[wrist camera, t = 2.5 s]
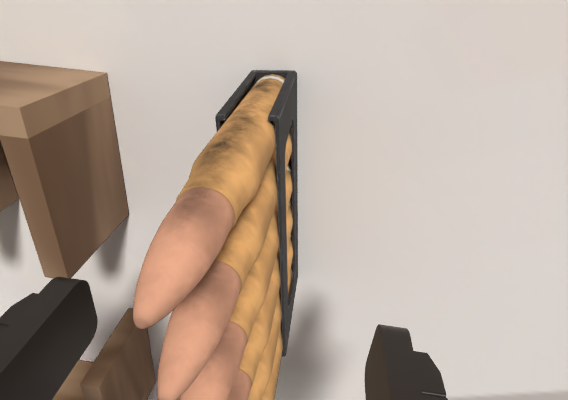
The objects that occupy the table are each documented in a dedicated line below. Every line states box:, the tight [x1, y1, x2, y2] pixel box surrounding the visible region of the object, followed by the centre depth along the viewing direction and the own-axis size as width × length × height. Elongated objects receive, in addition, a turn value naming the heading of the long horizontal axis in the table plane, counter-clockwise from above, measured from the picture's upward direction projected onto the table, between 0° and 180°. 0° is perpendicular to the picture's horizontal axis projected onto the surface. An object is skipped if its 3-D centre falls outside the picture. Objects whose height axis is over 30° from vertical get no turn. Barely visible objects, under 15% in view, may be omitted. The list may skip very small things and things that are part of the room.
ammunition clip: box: [133, 70, 298, 400], centre depth 12 cm, size 11×2×12 cm, turn 1°
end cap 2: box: [52, 308, 155, 400], centre depth 23 cm, size 7×7×5 cm
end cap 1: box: [0, 61, 129, 278], centre depth 16 cm, size 7×7×5 cm
